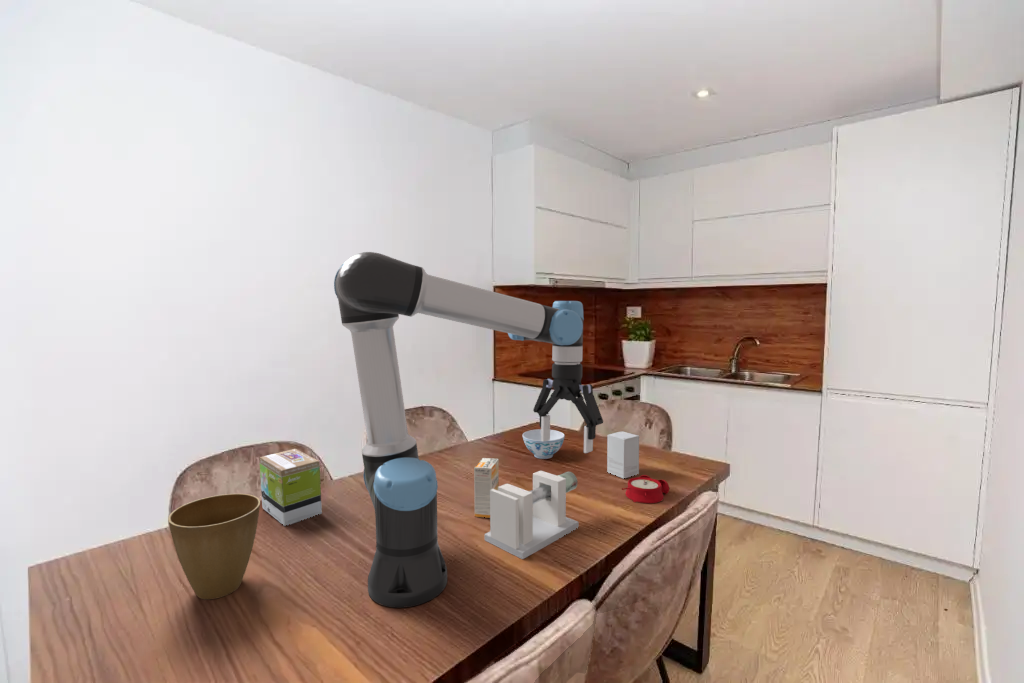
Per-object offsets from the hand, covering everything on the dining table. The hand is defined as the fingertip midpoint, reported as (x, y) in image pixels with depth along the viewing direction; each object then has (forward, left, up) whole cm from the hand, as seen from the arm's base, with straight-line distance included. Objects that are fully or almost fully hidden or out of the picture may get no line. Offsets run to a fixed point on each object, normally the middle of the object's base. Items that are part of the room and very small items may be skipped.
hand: (566, 446), depth 121 cm
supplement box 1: (-12, +17, -19) cm, 28 cm away
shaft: (-10, 0, -12) cm, 15 cm away
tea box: (-48, +54, -19) cm, 74 cm away
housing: (-13, 0, -18) cm, 22 cm away
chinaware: (+33, +36, -19) cm, 52 cm away
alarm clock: (+27, -8, -19) cm, 34 cm away
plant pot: (-71, +29, -19) cm, 79 cm away
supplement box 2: (+37, +6, -19) cm, 42 cm away
